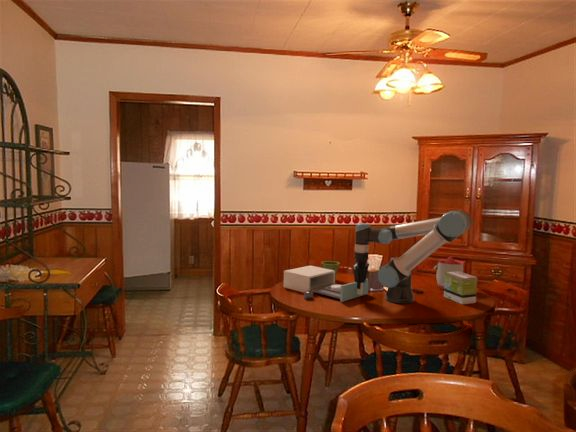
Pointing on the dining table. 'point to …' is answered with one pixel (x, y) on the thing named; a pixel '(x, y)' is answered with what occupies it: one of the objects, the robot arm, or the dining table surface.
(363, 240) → the robot arm
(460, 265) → the citrus juicer
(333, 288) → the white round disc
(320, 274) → the white drawer box
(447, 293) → the tea box
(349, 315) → the dining table surface
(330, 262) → the plant pot
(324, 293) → the drawer
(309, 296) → the grey knob
